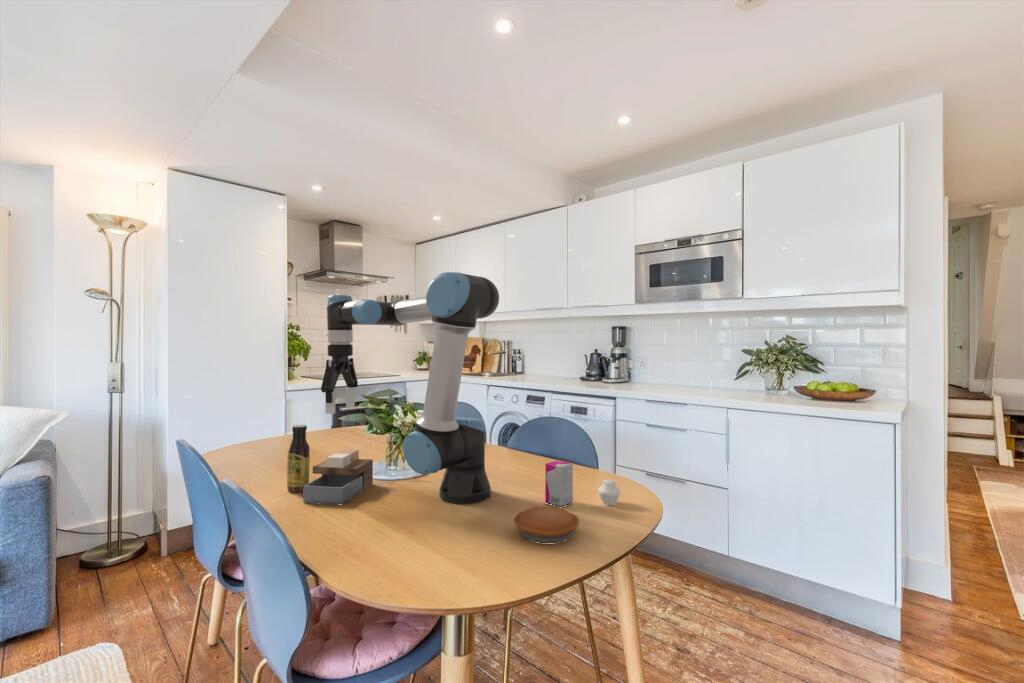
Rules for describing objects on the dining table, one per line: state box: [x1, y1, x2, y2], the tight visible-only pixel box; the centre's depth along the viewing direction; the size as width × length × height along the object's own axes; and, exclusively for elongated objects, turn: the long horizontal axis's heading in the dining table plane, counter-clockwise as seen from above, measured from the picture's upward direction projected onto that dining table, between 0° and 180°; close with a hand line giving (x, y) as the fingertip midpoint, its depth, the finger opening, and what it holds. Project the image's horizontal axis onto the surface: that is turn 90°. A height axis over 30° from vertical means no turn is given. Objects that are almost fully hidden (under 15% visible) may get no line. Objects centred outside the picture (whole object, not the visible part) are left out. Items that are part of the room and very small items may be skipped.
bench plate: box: [312, 458, 374, 491], centre depth 146 cm, size 14×11×8 cm
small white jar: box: [597, 478, 621, 506], centre depth 133 cm, size 6×6×7 cm
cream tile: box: [326, 452, 351, 468], centre depth 144 cm, size 5×5×3 cm
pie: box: [513, 505, 580, 544], centre depth 112 cm, size 15×16×5 cm
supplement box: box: [544, 459, 574, 508], centre depth 133 cm, size 6×6×12 cm
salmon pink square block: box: [336, 448, 360, 463], centre depth 149 cm, size 5×5×3 cm
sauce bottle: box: [286, 424, 311, 493], centre depth 146 cm, size 6×6×20 cm
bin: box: [302, 474, 364, 506], centre depth 139 cm, size 12×12×5 cm
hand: (340, 410), depth 151 cm, fingers open, 13 cm apart
